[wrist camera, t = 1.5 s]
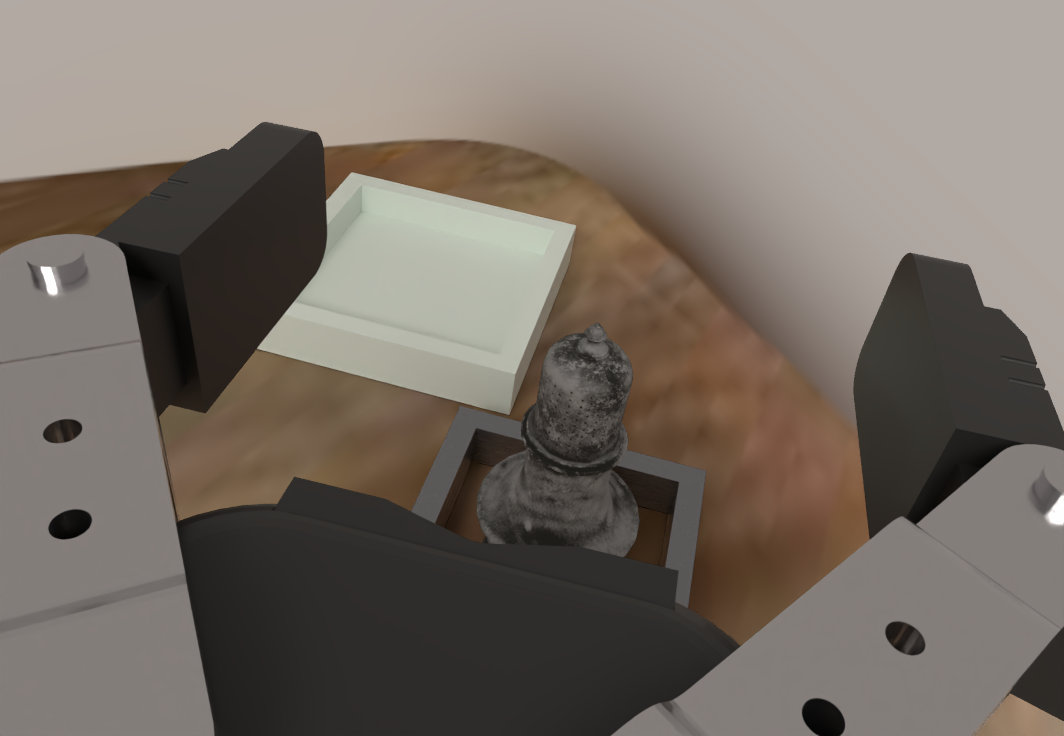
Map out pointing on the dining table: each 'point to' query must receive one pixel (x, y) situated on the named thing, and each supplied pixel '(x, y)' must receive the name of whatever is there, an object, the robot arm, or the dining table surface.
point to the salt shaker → (568, 456)
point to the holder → (643, 474)
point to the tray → (428, 292)
